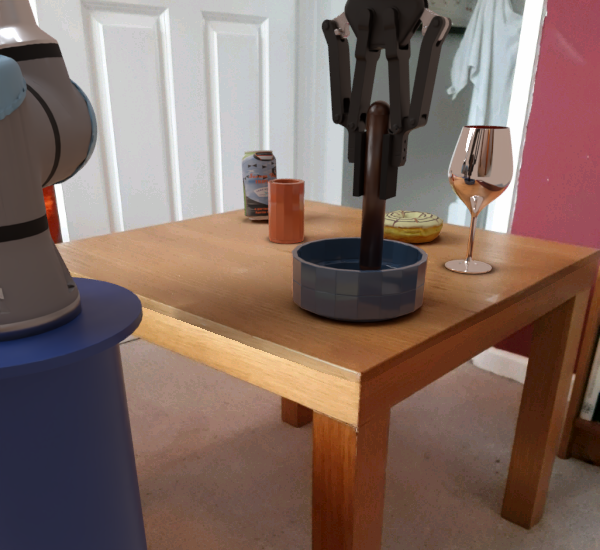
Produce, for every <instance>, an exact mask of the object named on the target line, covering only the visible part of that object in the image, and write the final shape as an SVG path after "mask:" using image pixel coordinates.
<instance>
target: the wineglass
mask: <svg viewBox="0 0 600 550" xmlns="http://www.w3.org/2000/svg"><path fill="white" fill-rule="evenodd" d="M513 157H514V156H513V145H512V135H511V129H510V127H509V126H502V125H488V124H487V125H481V124H480V125H479V124H478V125H477V124H476V125H475V124H473V125H463V126H462V128H461V130H460V133H459V135H458V139H457V140H456V144H455V147H454V149H453V153H452V155H451V159H450V161H449V165H448V169H447V181H448V184H449V186H450V188H451V190H452V192H453V193H454V194H455V195H456V196H457V198H458V199H459V200H460V201H461V202H462V203H463V205H464V206H466V208H467V210H468V211H469V213H470V222H469V223H470V224H469V231H468V233H469V234H468V239H467V246H466V253H465V257H464V259H452V260H448V261H446V262H445V264H444V267H445V269H447V270H449V271H452V272H455V273H460V274H467V275H478V274H479V275H481V274H486V273H489V272H491V271H492V269H493V267H492V265H490V264H489V263H488V262H484V261H480V260H475V259H474V260H473V255H474V254H473V253H474V245H475V236H476V231H477V230H476V229H477V222H478V217H479V215H480V213H481V212H482V211H483V210H484V209H485V208H486V207H487V206H489V204H491V203H492V202H494V201H495V200H497V199H498V198H499V197H500V196H501V195H503V193H504V192H506V190H507V189H508V187H510V184H511V182H512V180H513V176H514V158H513Z"/></svg>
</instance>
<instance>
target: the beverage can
mask: <svg viewBox="0 0 600 550" xmlns="http://www.w3.org/2000/svg"><path fill="white" fill-rule="evenodd" d="M241 170H242V171H241V172H242V173H241V174H242V190H243V207H244V208H243V209H244V216H245V217H246V218H248V220H250V221H261V220H262V221H263V220H269V216H268V181H269V180H273V179H278V177H277V176H278V175H277V174H278V172H277V158H276V156H275V155H274V153H273V150H272V149H271V150H269V149H267V150H266V149H263V150H262V149H261V150H246V151H244V154H243V156H242V158H241Z"/></svg>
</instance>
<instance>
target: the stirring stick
mask: <svg viewBox="0 0 600 550" xmlns="http://www.w3.org/2000/svg"><path fill="white" fill-rule="evenodd" d="M388 129H391V126H390V103H388V102H387V101H386V100H385V101H384V100H382V99H381V100H375V101H374V102H371V103H370V106H369V108H368V111H367V125H366V130H365V131H366V144H365V163H364V183H363V196H362V205H361V208H362V209H361V223H360V225H361V226H360V237H361V240H360V260H359V267H360V270H380V269H381V266H382V252H383V239H385V238H384V223H385V214H386V209H387V208H386V207H387V206H386V205H387V200H381V199H379V194H380V179H381V163H382V147H383V134H390V133H389V132H388Z"/></svg>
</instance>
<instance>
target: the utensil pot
mask: <svg viewBox="0 0 600 550" xmlns="http://www.w3.org/2000/svg"><path fill="white" fill-rule="evenodd" d="M305 185H306V182H305V180H303V179H300V178H299V179H298V178H287V177H286V178H277V179H273V180H269V181H268V216H269V219H268V239H269V241H270V242H272V243H275V244H285V245H291V244H298V243H299V244H300V243H302V242H303V241H304V240H305V202H306V200H305V196H306V195H305V193H306V192H305V188H306V187H305Z"/></svg>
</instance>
